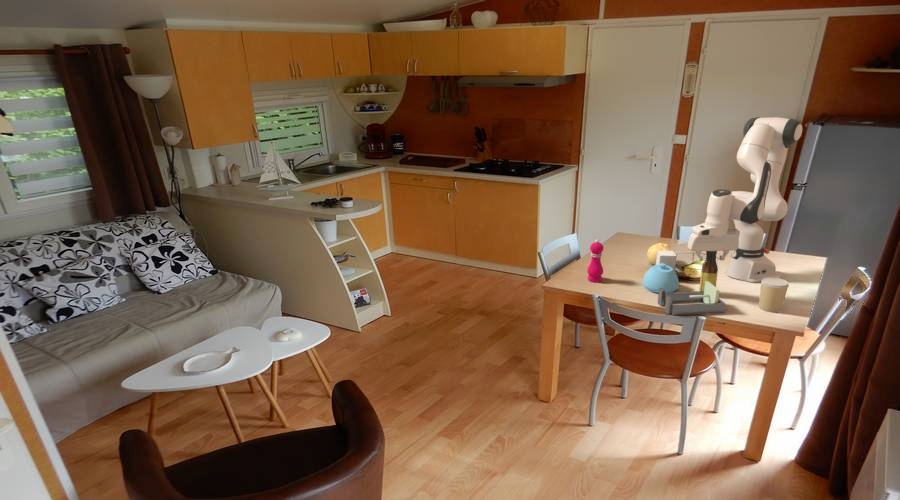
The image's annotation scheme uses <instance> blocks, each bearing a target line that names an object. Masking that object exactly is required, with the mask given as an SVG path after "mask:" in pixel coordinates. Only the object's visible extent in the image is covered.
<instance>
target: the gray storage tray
mask: <svg viewBox="0 0 900 500" xmlns="http://www.w3.org/2000/svg"><path fill="white" fill-rule="evenodd" d="M691 295H704V291H700V290H699V291H680V292H678V291H677V292H676V291H675V292H672V293H665V290H664V289H663V288H659V293H658V296H657V304H658V306H659V307H664V312H665V313H666V314H667V315H671V316H685V315H688V316H689V315H706V313H711V314H724V313H725V311H726V305H727V303H726V302H724V301H723V300H722V299H721V298H719V297H718V303H704V302H703V297H701V298H690V297H689V296H691ZM689 301H694V302H703V303H690V302H689ZM687 302H689V303H687ZM673 303H684V304H673ZM685 303H687V304H685Z"/></svg>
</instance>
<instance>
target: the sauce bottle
mask: <svg viewBox="0 0 900 500" xmlns="http://www.w3.org/2000/svg"><path fill="white" fill-rule="evenodd" d="M705 253H706V255H705V260H704V261H703V263H702V265H701V272H700V281H699V291H704V288H705V281H709V282H710V283H711V284H712V285H714V286H715V287H716V286H717V282H718V271H719V268H718V265H717V261H716V260H717V254H718V251H705ZM716 288H717V287H716Z"/></svg>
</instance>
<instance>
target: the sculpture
mask: <svg viewBox="0 0 900 500" xmlns="http://www.w3.org/2000/svg"><path fill="white" fill-rule="evenodd" d="M657 251H673V249H672V248H671V246H669V245H668V244H667V243H662V242H658V243H656V244H653V245H651V246H650V247H649V248H648V250H647V253H646V259H647V261H648V263H650V264H651V265H652V266H654V265H656V259H657Z"/></svg>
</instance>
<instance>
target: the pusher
mask: <svg viewBox="0 0 900 500" xmlns="http://www.w3.org/2000/svg"><path fill="white" fill-rule="evenodd" d="M720 291H721V290H720V289H718V288H717V287H715V286H714V285H712V284H711V283H710V282H709V281H705V288H704V295H691V296H689V297H690V298H701V297H703V301H702V303H703V304H704V303H718V298H719V297H720Z"/></svg>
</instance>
